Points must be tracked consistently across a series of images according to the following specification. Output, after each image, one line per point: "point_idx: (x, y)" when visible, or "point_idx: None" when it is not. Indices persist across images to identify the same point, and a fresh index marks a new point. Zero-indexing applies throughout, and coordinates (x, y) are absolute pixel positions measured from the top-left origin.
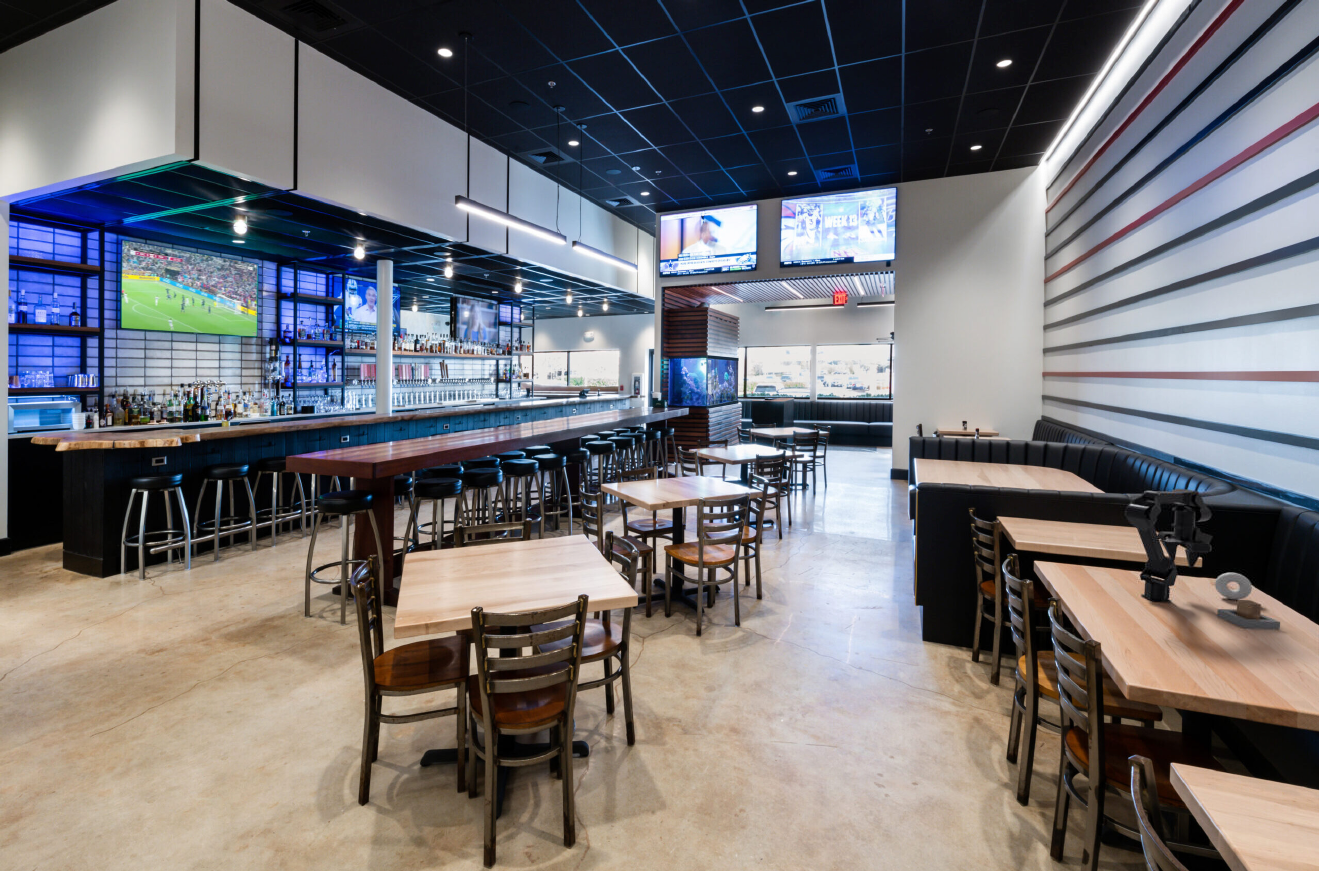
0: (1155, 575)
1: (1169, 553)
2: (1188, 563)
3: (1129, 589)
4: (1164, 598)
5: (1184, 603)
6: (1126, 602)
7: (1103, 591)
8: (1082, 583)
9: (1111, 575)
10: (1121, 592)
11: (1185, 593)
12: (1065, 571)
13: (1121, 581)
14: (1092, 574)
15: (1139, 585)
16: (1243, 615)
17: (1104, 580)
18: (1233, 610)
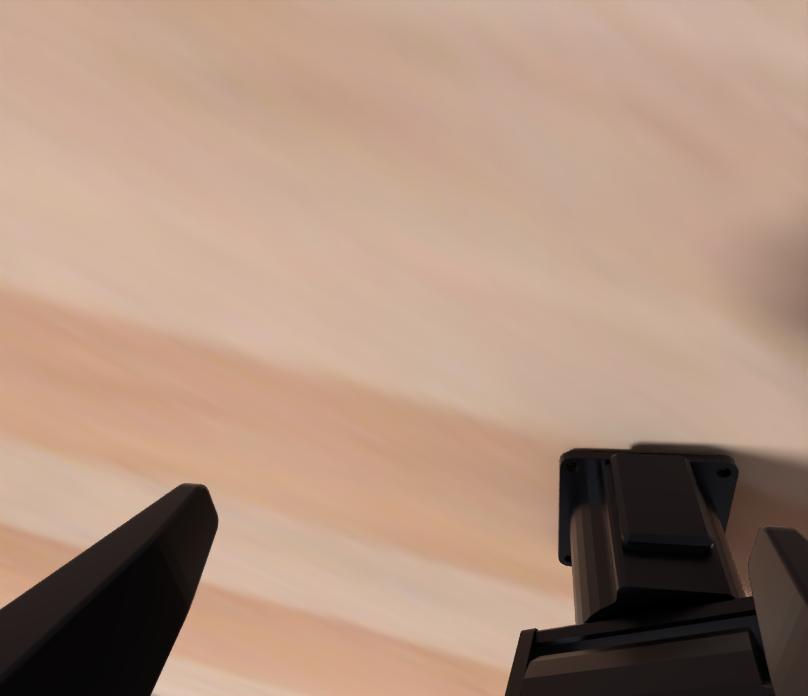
0: None
1: (153, 688)
2: (788, 683)
3: (399, 528)
4: (718, 517)
5: (770, 365)
6: None
7: (478, 670)
8: (333, 673)
9: (51, 444)
10: (485, 605)
11: (425, 134)
12: None
13: (195, 467)
14: (93, 537)
15: (263, 407)
16: None
17: (216, 548)
18: None
